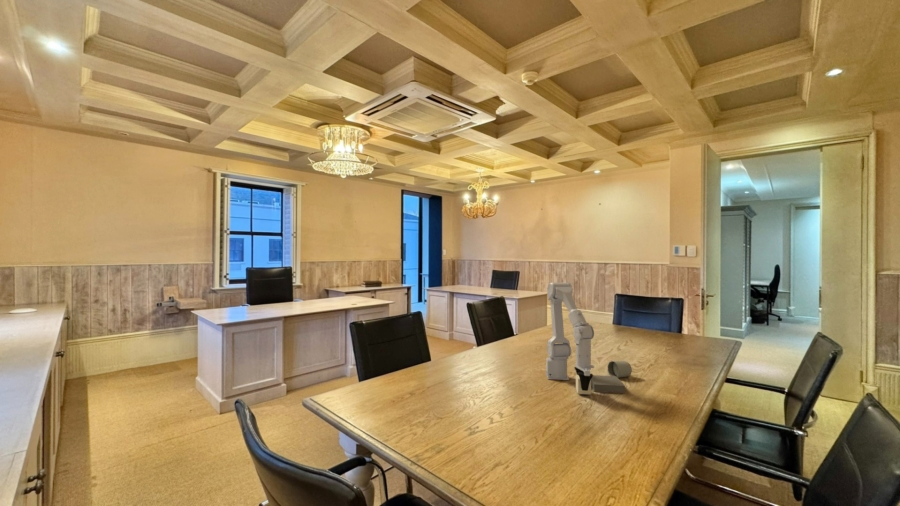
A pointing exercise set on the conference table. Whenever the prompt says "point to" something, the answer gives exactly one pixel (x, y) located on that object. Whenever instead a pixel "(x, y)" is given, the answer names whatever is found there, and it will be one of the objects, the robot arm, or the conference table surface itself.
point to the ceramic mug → (619, 369)
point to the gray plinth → (607, 384)
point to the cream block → (579, 389)
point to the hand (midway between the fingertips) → (583, 387)
